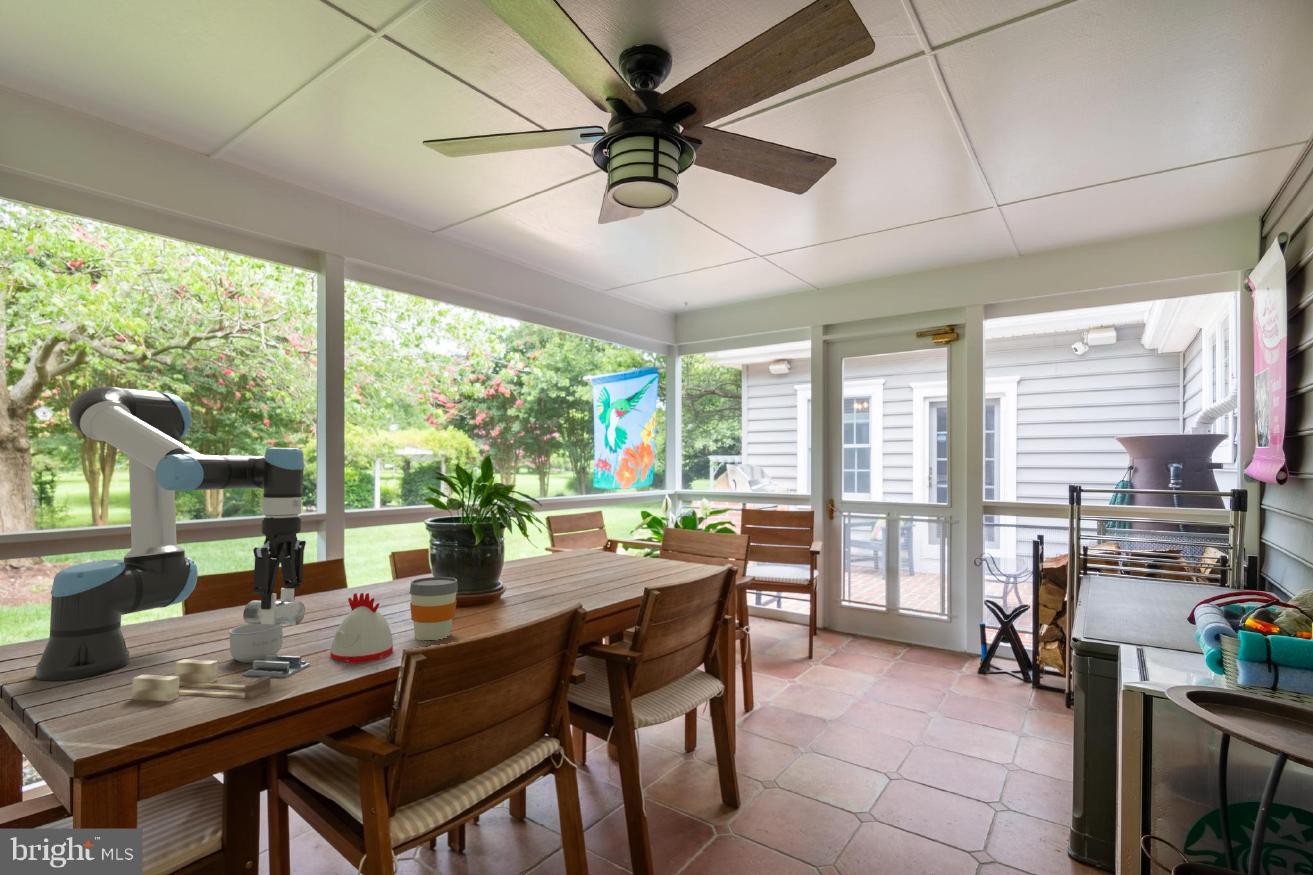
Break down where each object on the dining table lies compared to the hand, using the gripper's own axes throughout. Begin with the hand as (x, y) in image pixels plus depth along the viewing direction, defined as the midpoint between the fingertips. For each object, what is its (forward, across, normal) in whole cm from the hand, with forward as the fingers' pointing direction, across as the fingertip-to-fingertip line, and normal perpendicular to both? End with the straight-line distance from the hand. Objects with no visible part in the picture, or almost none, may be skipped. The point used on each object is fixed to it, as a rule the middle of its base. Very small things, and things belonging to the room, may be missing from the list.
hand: (277, 620), depth 135 cm
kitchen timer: (+12, +16, -11) cm, 23 cm away
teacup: (+12, +10, +11) cm, 19 cm away
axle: (+1, 0, +1) cm, 1 cm away
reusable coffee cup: (+12, +33, -20) cm, 41 cm away
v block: (+12, +1, 0) cm, 12 cm away
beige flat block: (+12, -12, +5) cm, 18 cm away
